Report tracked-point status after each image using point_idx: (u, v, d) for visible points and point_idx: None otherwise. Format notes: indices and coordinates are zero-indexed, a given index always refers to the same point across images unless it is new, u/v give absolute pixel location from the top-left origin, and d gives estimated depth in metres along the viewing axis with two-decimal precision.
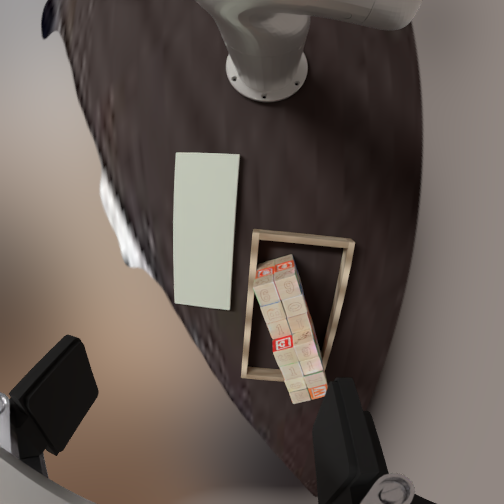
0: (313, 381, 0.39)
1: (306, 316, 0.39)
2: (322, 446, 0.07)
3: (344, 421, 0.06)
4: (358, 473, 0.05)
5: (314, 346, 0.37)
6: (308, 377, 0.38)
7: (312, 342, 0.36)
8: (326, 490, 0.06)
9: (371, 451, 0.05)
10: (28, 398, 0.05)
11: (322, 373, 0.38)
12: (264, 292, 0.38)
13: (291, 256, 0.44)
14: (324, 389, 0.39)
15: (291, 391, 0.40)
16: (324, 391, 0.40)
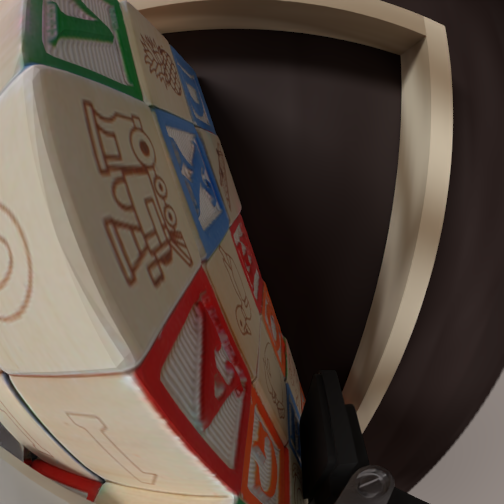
0: None
1: (143, 414, 0.02)
2: (307, 438, 0.08)
3: (325, 412, 0.07)
4: (336, 463, 0.05)
5: None
6: None
7: None
8: (309, 481, 0.06)
9: (351, 442, 0.06)
10: None
11: None
12: None
13: None
14: None
15: None
16: None
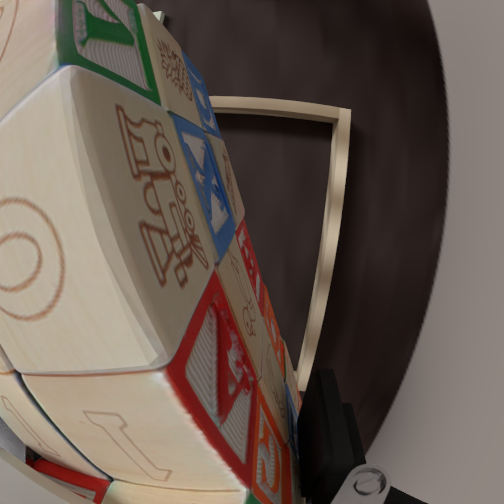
0: None
1: (169, 409, 0.03)
2: (304, 436, 0.08)
3: (322, 410, 0.07)
4: (333, 461, 0.05)
5: None
6: None
7: None
8: (306, 480, 0.06)
9: (347, 441, 0.06)
10: None
11: None
12: None
13: None
14: None
15: None
16: None
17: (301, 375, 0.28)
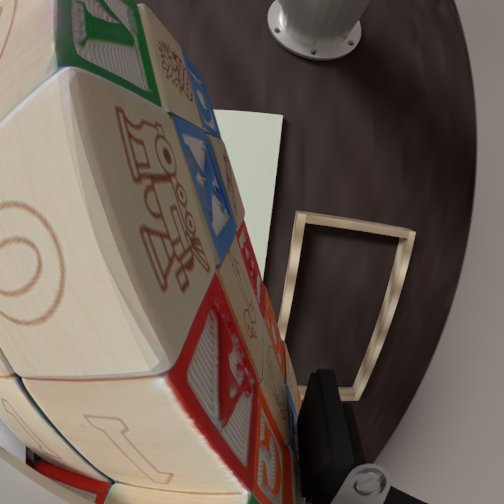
0: None
1: (171, 414, 0.03)
2: (304, 436, 0.08)
3: (322, 410, 0.07)
4: (333, 461, 0.05)
5: None
6: None
7: None
8: (306, 480, 0.06)
9: (347, 441, 0.06)
10: None
11: None
12: None
13: None
14: None
15: None
16: None
17: (358, 390, 0.39)
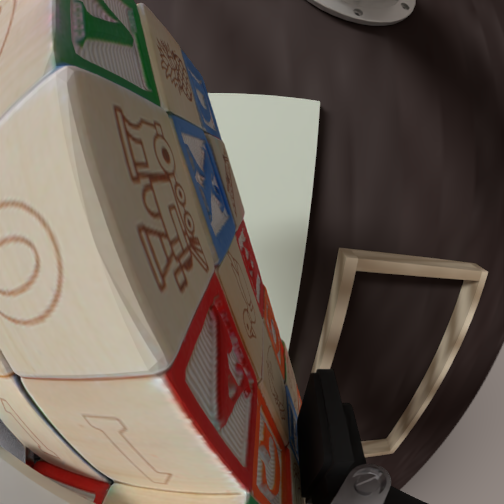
0: None
1: (169, 414, 0.03)
2: (304, 436, 0.08)
3: (322, 411, 0.07)
4: (333, 462, 0.05)
5: None
6: None
7: None
8: (306, 480, 0.06)
9: (347, 441, 0.06)
10: None
11: None
12: None
13: None
14: None
15: None
16: None
17: (394, 445, 0.28)
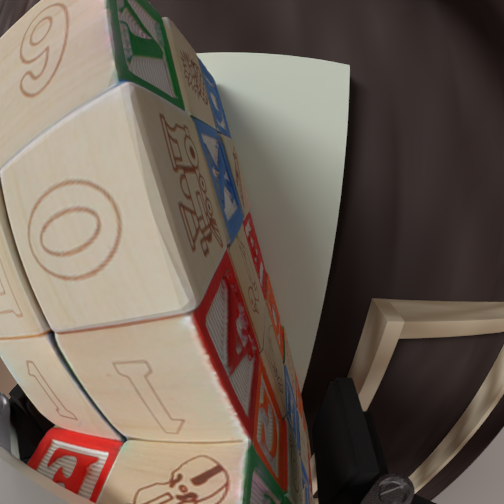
0: None
1: (192, 351, 0.04)
2: (322, 446, 0.07)
3: (344, 421, 0.06)
4: (358, 473, 0.05)
5: None
6: None
7: None
8: (326, 490, 0.06)
9: (371, 452, 0.05)
10: (28, 398, 0.05)
11: None
12: None
13: None
14: None
15: None
16: None
17: None
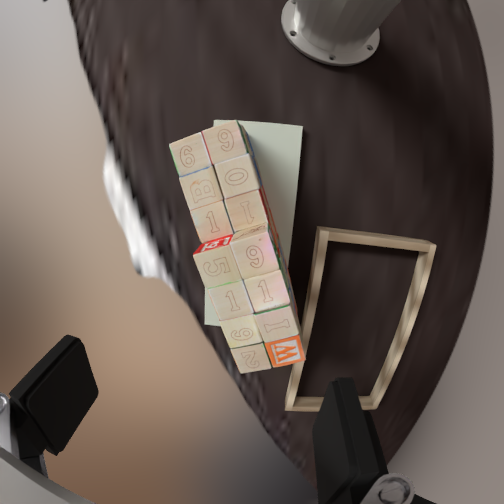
0: (273, 327, 0.22)
1: (257, 196, 0.22)
2: (322, 446, 0.07)
3: (344, 421, 0.06)
4: (358, 473, 0.05)
5: (269, 245, 0.20)
6: (263, 317, 0.22)
7: (265, 235, 0.20)
8: (326, 490, 0.06)
9: (371, 451, 0.05)
10: (28, 398, 0.05)
11: (289, 310, 0.22)
12: (186, 151, 0.22)
13: None
14: (295, 348, 0.23)
15: (234, 346, 0.23)
16: (295, 352, 0.23)
17: (376, 399, 0.38)
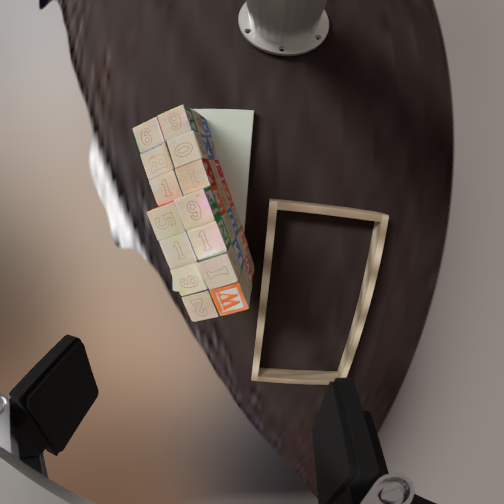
0: (214, 274, 0.26)
1: (201, 164, 0.26)
2: (322, 446, 0.07)
3: (344, 421, 0.06)
4: (358, 473, 0.05)
5: (205, 200, 0.24)
6: (205, 264, 0.26)
7: (201, 192, 0.24)
8: (326, 490, 0.06)
9: (371, 451, 0.05)
10: (28, 398, 0.05)
11: (226, 257, 0.25)
12: (145, 132, 0.25)
13: (201, 116, 0.32)
14: (237, 296, 0.27)
15: (184, 294, 0.27)
16: (238, 300, 0.27)
17: (342, 374, 0.42)
